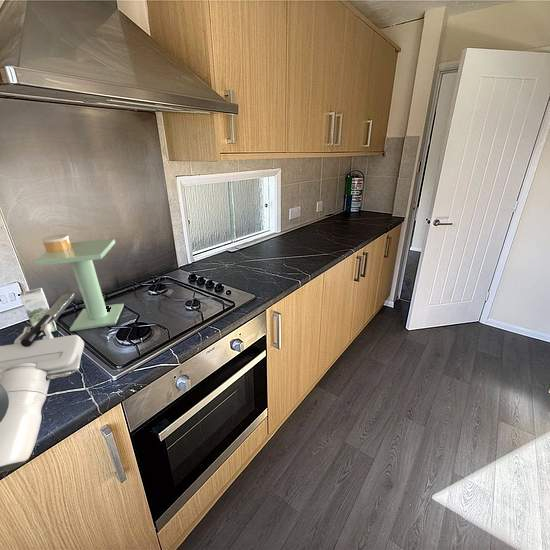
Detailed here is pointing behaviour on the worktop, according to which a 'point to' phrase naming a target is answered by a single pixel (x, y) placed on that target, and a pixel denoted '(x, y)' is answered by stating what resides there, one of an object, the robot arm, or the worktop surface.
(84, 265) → the cake stand
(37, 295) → the syrup box
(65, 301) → the cake knife
